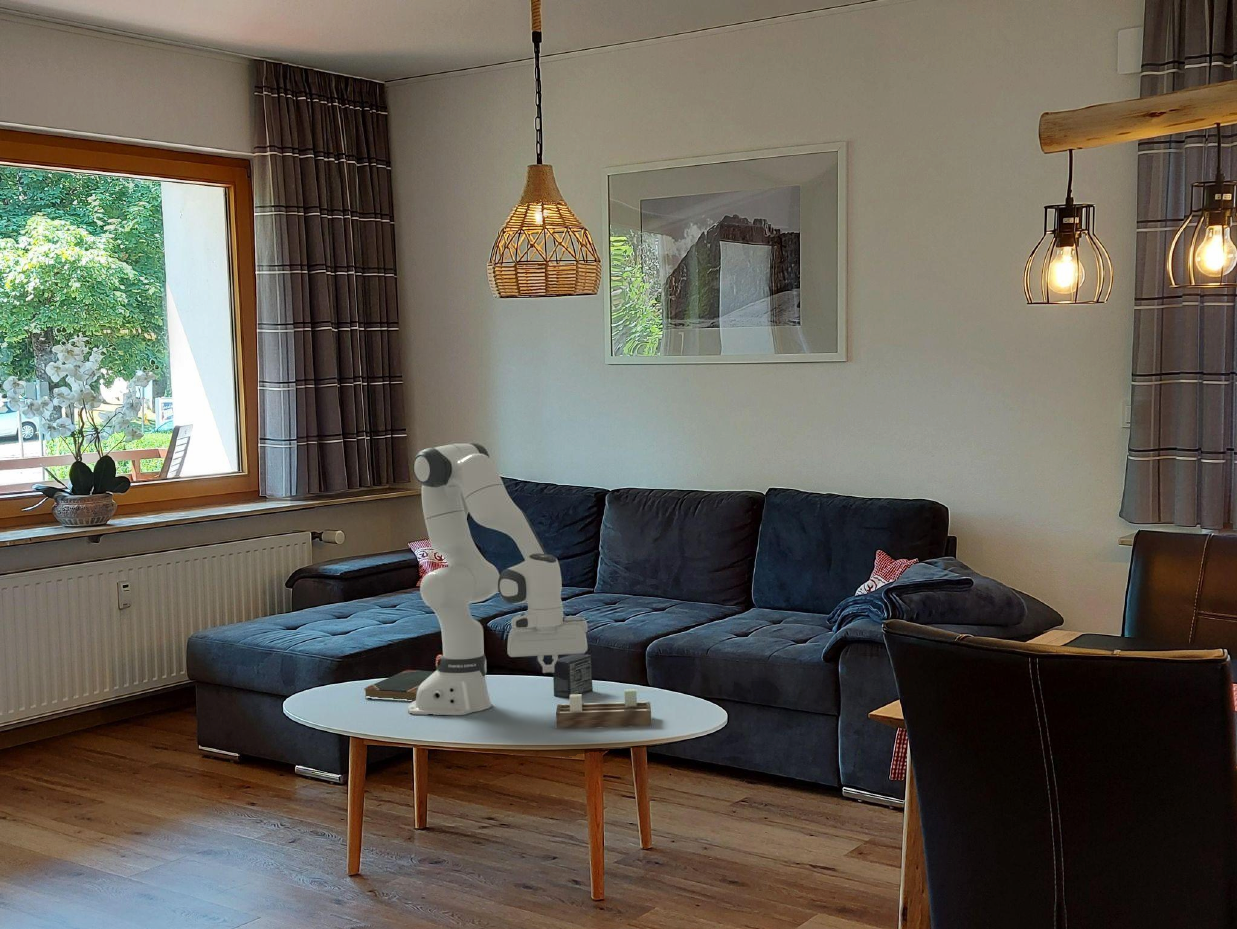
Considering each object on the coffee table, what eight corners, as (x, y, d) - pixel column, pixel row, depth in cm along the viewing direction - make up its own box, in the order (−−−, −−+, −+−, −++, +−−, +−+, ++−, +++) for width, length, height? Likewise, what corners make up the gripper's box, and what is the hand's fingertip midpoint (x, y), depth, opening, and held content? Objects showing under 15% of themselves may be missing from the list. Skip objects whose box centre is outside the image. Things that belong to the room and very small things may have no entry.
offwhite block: (570, 718, 320) (569, 696, 320) (570, 716, 323) (569, 694, 322) (582, 718, 320) (581, 696, 320) (582, 715, 323) (581, 694, 322)
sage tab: (625, 713, 324) (624, 691, 324) (625, 710, 327) (624, 689, 326) (636, 712, 324) (636, 691, 324) (636, 710, 327) (636, 688, 326)
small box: (575, 688, 363) (574, 652, 362) (593, 691, 359) (592, 654, 358) (552, 696, 354) (551, 659, 354) (570, 699, 350) (569, 661, 350)
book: (406, 681, 381) (363, 700, 358) (406, 669, 381) (362, 688, 358) (458, 684, 375) (417, 704, 352) (458, 672, 375) (417, 691, 352)
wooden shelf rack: (556, 728, 319) (555, 712, 319) (558, 719, 328) (557, 703, 328) (651, 726, 319) (650, 709, 319) (650, 717, 328) (650, 701, 328)
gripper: (587, 614, 323) (589, 667, 324) (507, 618, 323) (510, 671, 324) (586, 618, 317) (589, 672, 317) (505, 622, 317) (508, 676, 317)
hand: (548, 672), depth 321 cm, fingers closed
